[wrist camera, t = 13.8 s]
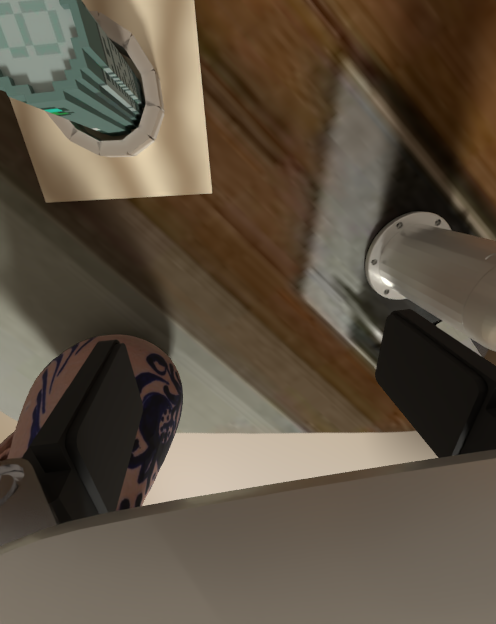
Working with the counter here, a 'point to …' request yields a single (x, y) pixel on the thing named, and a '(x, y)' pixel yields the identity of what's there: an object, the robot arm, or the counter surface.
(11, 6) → the can
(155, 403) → the ceramic pitcher
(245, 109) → the counter surface
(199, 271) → the counter surface
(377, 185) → the counter surface
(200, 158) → the socket board
